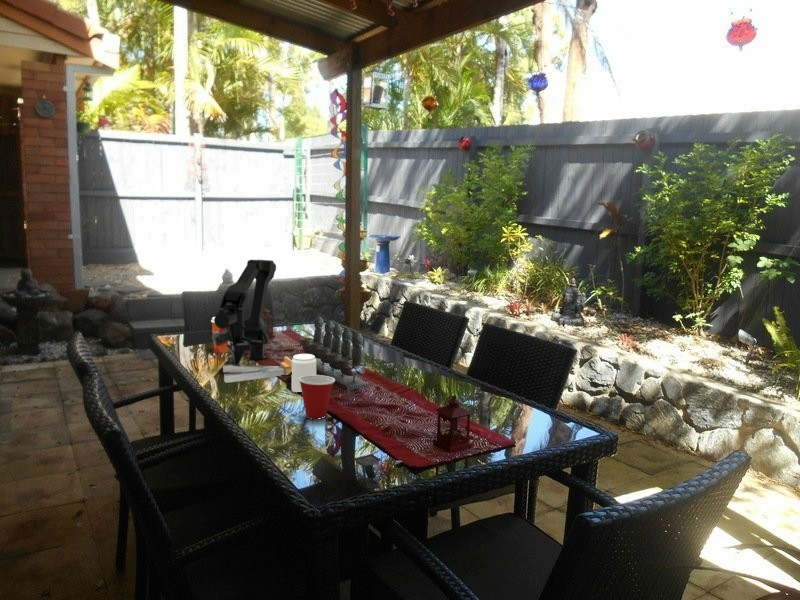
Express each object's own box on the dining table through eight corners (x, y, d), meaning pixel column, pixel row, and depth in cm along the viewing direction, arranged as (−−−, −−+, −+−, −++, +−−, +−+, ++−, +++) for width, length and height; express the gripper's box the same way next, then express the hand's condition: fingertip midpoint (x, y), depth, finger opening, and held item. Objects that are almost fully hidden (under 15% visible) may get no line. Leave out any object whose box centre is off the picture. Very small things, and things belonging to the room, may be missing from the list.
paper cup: (210, 350, 267) (209, 316, 265) (229, 348, 270) (228, 315, 268) (213, 354, 260) (212, 320, 258) (232, 353, 263) (232, 319, 261)
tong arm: (279, 372, 238) (279, 366, 237) (278, 374, 236) (278, 367, 235) (224, 370, 238) (224, 364, 238) (223, 372, 236) (223, 366, 236)
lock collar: (280, 371, 239) (280, 356, 238) (286, 370, 240) (286, 356, 239) (286, 376, 233) (286, 361, 232) (292, 375, 234) (292, 361, 233)
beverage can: (303, 396, 212) (303, 361, 210) (286, 391, 217) (286, 356, 215) (321, 391, 218) (321, 356, 216) (304, 386, 223) (304, 352, 221)
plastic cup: (342, 414, 197) (342, 376, 194) (320, 425, 187) (320, 385, 185) (313, 407, 202) (313, 370, 200) (290, 418, 193) (290, 378, 191)
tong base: (222, 379, 228) (222, 372, 228) (287, 371, 240) (287, 365, 239) (226, 383, 224) (226, 376, 223) (291, 375, 235) (291, 368, 235)
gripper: (207, 319, 243) (208, 360, 246) (219, 330, 227) (220, 373, 230) (237, 317, 248) (238, 357, 251) (251, 327, 232) (251, 370, 235)
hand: (236, 364), depth 241 cm, fingers closed
